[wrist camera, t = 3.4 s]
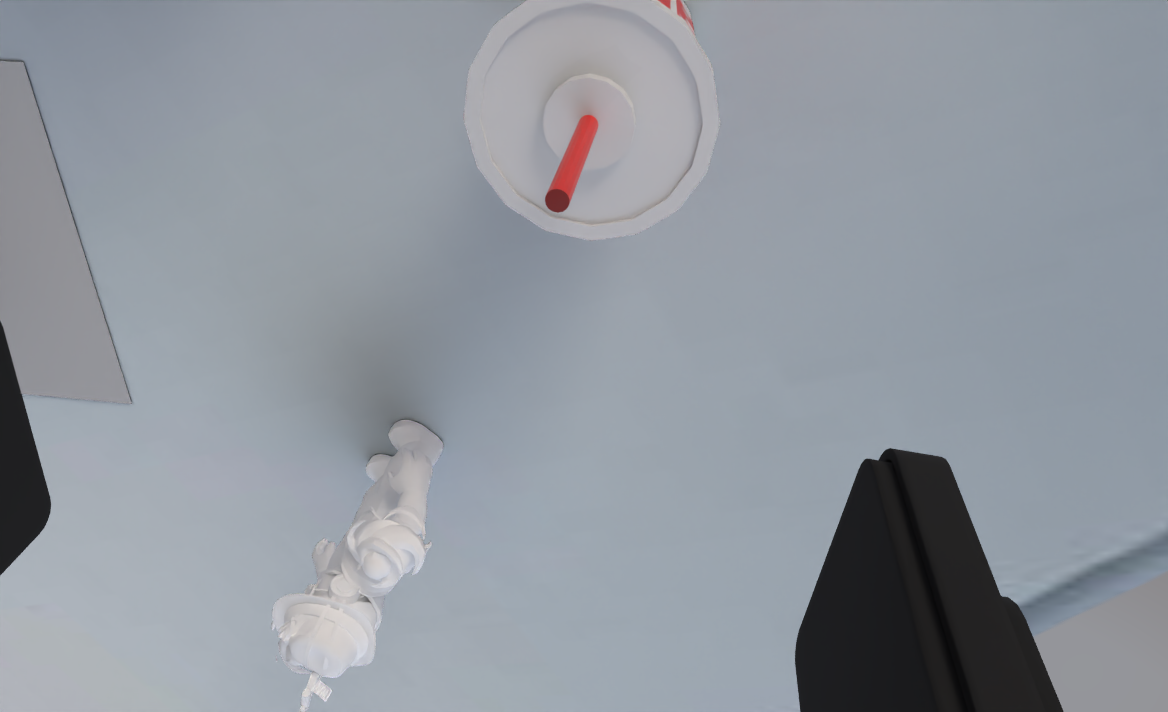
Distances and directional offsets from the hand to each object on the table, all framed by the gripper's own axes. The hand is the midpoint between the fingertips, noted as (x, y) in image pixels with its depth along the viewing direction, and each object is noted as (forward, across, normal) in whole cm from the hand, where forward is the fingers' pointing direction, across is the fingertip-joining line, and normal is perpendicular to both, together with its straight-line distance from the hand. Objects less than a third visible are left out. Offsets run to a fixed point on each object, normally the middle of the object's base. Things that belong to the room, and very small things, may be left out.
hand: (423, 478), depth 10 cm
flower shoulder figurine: (+22, +6, +19) cm, 30 cm away
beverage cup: (+22, 0, 0) cm, 22 cm away
